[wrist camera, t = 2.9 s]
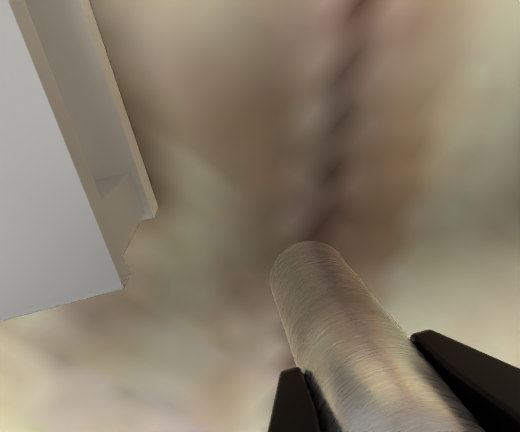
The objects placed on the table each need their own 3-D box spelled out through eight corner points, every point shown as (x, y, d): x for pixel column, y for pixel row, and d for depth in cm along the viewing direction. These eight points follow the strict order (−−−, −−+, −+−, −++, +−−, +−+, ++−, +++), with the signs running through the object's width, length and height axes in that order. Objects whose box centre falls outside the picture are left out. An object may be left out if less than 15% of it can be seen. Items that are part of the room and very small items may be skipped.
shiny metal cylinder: (339, 231, 11) (1030, 955, 2) (349, 298, 12) (866, 1044, 3) (262, 252, 11) (570, 1146, 2) (278, 318, 12) (549, 1177, 2)
